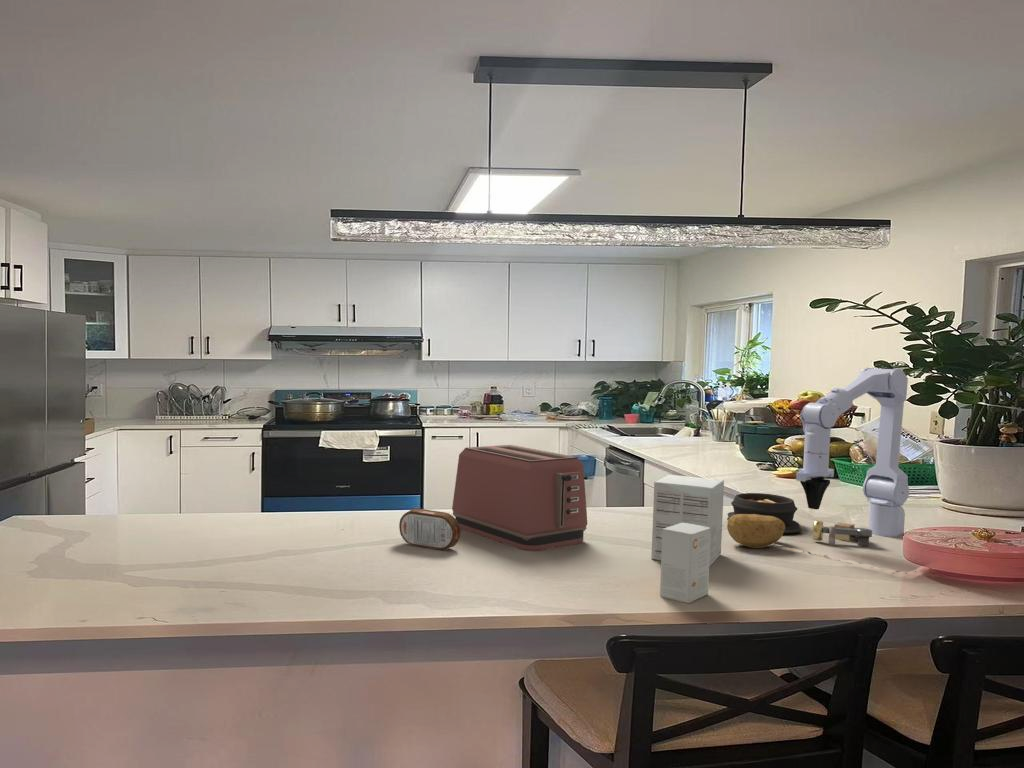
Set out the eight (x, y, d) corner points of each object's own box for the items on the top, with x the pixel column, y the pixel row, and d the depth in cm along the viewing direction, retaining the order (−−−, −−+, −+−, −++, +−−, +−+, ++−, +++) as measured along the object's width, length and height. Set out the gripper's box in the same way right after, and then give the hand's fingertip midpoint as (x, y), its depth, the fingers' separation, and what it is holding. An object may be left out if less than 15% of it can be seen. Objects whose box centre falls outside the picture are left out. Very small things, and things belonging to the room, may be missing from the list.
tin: (460, 550, 179) (461, 513, 178) (453, 553, 176) (454, 515, 175) (404, 541, 185) (405, 506, 185) (396, 544, 182) (397, 508, 182)
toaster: (533, 554, 177) (536, 464, 176) (449, 525, 204) (451, 446, 203) (595, 544, 189) (598, 459, 188) (507, 517, 215) (510, 443, 214)
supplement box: (665, 547, 188) (668, 473, 187) (721, 554, 182) (725, 479, 181) (649, 559, 176) (653, 481, 175) (709, 568, 170) (712, 487, 169)
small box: (679, 587, 155) (682, 521, 155) (709, 594, 151) (712, 527, 151) (658, 596, 149) (661, 528, 149) (689, 604, 145) (692, 533, 144)
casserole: (819, 540, 200) (821, 507, 200) (750, 540, 197) (751, 507, 197) (773, 518, 225) (775, 489, 224) (711, 518, 222) (712, 489, 222)
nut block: (839, 536, 200) (839, 522, 200) (854, 538, 197) (854, 524, 197) (834, 538, 197) (834, 524, 197) (849, 541, 194) (849, 526, 194)
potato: (792, 552, 186) (793, 519, 186) (734, 551, 185) (735, 518, 185) (775, 542, 196) (776, 510, 195) (719, 541, 195) (721, 509, 194)
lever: (808, 534, 198) (809, 516, 198) (865, 538, 196) (866, 520, 196) (814, 541, 191) (815, 522, 191) (873, 545, 189) (874, 526, 188)
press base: (825, 534, 206) (826, 513, 206) (902, 550, 192) (903, 527, 191) (794, 542, 196) (795, 521, 195) (873, 560, 181) (874, 536, 181)
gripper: (815, 449, 198) (813, 502, 199) (785, 452, 188) (782, 508, 189) (843, 452, 193) (840, 507, 193) (813, 456, 183) (810, 514, 184)
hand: (813, 508), depth 191 cm, fingers closed
